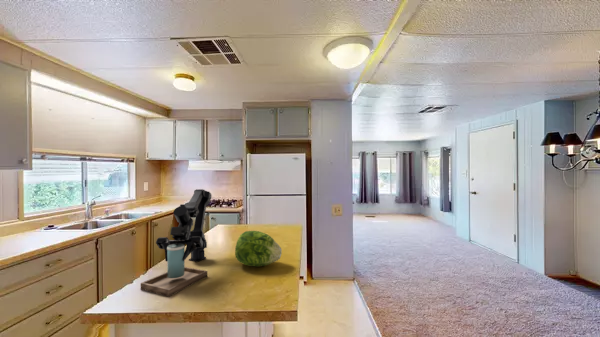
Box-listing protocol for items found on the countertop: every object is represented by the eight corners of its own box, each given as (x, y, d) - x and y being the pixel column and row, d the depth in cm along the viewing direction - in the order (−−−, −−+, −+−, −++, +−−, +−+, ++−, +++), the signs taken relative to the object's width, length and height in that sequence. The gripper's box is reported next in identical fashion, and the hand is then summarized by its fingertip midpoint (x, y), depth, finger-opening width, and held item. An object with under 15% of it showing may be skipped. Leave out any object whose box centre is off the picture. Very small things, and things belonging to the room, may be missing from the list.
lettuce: (276, 274, 117) (283, 236, 120) (227, 265, 118) (235, 228, 121) (280, 267, 134) (285, 234, 137) (237, 260, 135) (244, 228, 139)
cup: (165, 274, 108) (165, 245, 108) (182, 270, 112) (182, 242, 113) (169, 279, 103) (169, 249, 103) (186, 275, 107) (186, 246, 108)
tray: (140, 289, 101) (140, 283, 101) (181, 271, 120) (181, 266, 120) (168, 296, 95) (168, 289, 95) (207, 276, 114) (207, 271, 114)
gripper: (157, 219, 111) (144, 252, 100) (201, 218, 113) (192, 250, 102) (165, 232, 119) (154, 264, 108) (206, 231, 121) (199, 263, 109)
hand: (174, 260), depth 106 cm, fingers closed on cup, 7 cm apart
